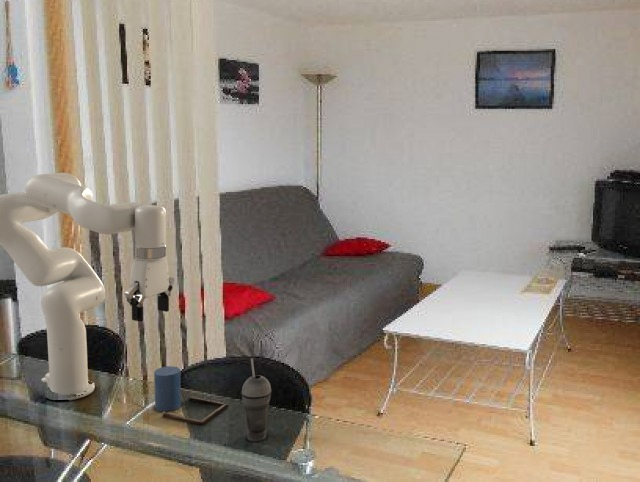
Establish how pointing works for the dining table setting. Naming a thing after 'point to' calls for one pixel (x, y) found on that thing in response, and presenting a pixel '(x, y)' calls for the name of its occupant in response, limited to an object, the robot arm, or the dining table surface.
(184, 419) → the frame
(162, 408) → the can
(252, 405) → the beverage cup
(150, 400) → the dining table surface
